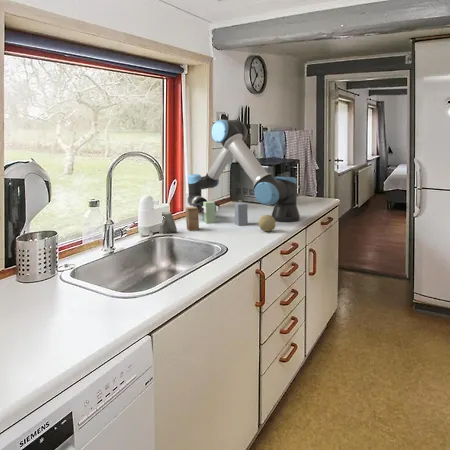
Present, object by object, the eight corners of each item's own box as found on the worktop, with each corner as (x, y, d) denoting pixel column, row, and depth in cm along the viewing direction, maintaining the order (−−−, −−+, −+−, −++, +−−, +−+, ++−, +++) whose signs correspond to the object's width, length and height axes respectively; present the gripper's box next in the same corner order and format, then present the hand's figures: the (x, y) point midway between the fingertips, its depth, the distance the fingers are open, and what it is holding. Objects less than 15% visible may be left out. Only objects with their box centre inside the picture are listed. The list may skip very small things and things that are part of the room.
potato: (258, 229, 216) (258, 213, 214) (274, 229, 215) (274, 213, 214) (259, 233, 208) (259, 216, 207) (275, 233, 208) (275, 216, 206)
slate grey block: (235, 224, 230) (234, 203, 228) (244, 223, 232) (243, 202, 230) (238, 225, 226) (238, 204, 223) (247, 224, 227) (247, 203, 225)
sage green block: (204, 221, 238) (203, 201, 236) (212, 221, 240) (211, 201, 237) (206, 223, 234) (205, 203, 231) (215, 222, 235) (214, 202, 233)
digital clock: (178, 232, 216) (177, 210, 214) (163, 235, 210) (162, 213, 207) (159, 227, 227) (157, 207, 225) (144, 230, 221) (143, 209, 219)
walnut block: (186, 229, 222) (185, 207, 220) (196, 228, 224) (195, 206, 221) (189, 231, 217) (188, 209, 215) (199, 230, 219) (198, 208, 217)
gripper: (215, 208, 255) (229, 215, 234) (184, 211, 249) (195, 218, 228) (215, 195, 254) (229, 201, 232) (183, 198, 248) (194, 204, 226)
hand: (212, 209), depth 230 cm, fingers open, 6 cm apart
